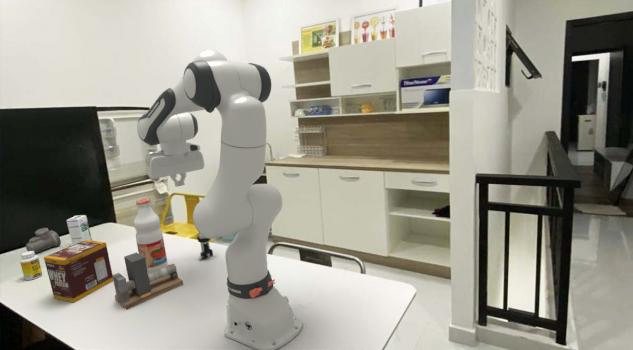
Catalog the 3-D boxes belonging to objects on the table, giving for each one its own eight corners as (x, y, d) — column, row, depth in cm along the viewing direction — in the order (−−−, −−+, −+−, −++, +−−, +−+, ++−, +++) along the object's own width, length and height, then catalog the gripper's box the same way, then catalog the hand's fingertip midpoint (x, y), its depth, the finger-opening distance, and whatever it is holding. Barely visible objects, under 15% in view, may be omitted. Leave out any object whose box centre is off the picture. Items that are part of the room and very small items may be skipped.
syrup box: (85, 248, 164) (78, 218, 161) (72, 248, 164) (65, 219, 161) (92, 243, 169) (86, 214, 166) (80, 243, 169) (74, 215, 166)
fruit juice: (149, 262, 143) (138, 197, 137) (172, 262, 143) (161, 196, 137) (137, 274, 134) (123, 204, 128) (160, 273, 134) (148, 203, 128)
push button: (203, 262, 141) (200, 239, 138) (194, 259, 143) (191, 237, 141) (216, 255, 146) (213, 233, 144) (207, 253, 149) (204, 231, 147)
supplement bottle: (35, 280, 135) (29, 255, 133) (21, 281, 135) (14, 256, 133) (46, 273, 140) (40, 249, 138) (32, 274, 140) (25, 250, 138)
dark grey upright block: (151, 290, 117) (144, 257, 115) (138, 296, 114) (132, 262, 112) (142, 284, 122) (136, 252, 119) (130, 289, 119) (124, 256, 117)
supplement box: (53, 298, 120) (42, 256, 117) (95, 277, 134) (86, 239, 131) (73, 303, 117) (63, 260, 113) (114, 280, 130) (106, 241, 127)
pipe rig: (183, 284, 124) (179, 259, 122) (126, 309, 111) (121, 282, 109) (170, 276, 131) (166, 252, 129) (115, 299, 117) (110, 273, 115)
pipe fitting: (54, 242, 172) (48, 224, 169) (63, 246, 168) (57, 227, 165) (26, 255, 162) (19, 235, 159) (35, 259, 159) (28, 239, 155)
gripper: (148, 153, 117) (155, 193, 120) (203, 145, 131) (208, 180, 134) (141, 152, 121) (147, 191, 124) (195, 144, 136) (200, 179, 138)
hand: (179, 185), depth 129 cm, fingers closed
